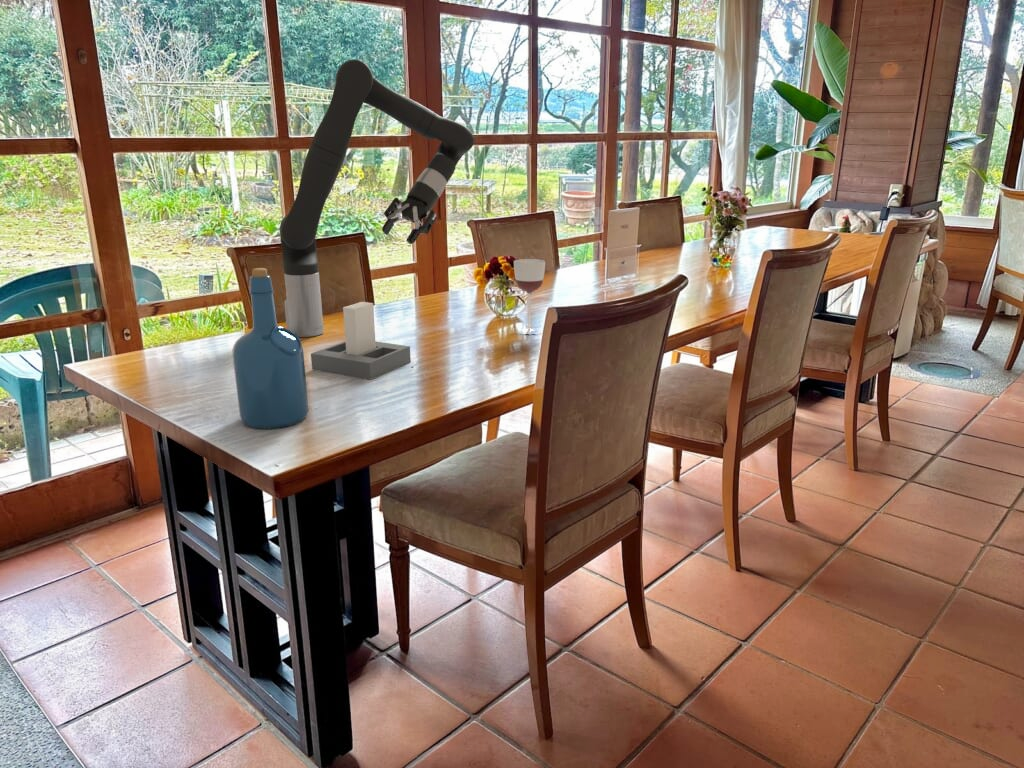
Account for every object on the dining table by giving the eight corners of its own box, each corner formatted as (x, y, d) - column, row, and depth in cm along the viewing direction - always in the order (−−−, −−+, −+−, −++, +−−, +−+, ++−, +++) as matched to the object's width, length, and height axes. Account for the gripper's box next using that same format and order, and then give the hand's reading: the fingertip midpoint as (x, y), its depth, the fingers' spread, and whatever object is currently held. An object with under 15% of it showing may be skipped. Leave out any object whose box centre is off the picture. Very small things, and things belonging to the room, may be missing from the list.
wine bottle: (225, 426, 151) (205, 272, 141) (268, 404, 163) (253, 261, 153) (284, 435, 146) (267, 277, 137) (324, 412, 158) (311, 265, 148)
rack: (312, 369, 186) (310, 353, 185) (354, 353, 199) (353, 338, 198) (370, 379, 178) (369, 363, 177) (410, 362, 192) (409, 346, 190)
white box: (347, 364, 186) (342, 307, 182) (365, 357, 192) (361, 301, 188) (358, 366, 185) (354, 308, 180) (376, 359, 191) (373, 303, 186)
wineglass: (542, 336, 215) (542, 264, 209) (511, 334, 217) (511, 263, 210) (546, 329, 223) (547, 259, 216) (516, 327, 224) (516, 258, 218)
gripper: (401, 174, 210) (370, 222, 207) (443, 188, 205) (411, 237, 201) (412, 190, 217) (382, 237, 214) (453, 204, 211) (422, 253, 208)
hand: (396, 237), depth 207 cm, fingers open, 8 cm apart
